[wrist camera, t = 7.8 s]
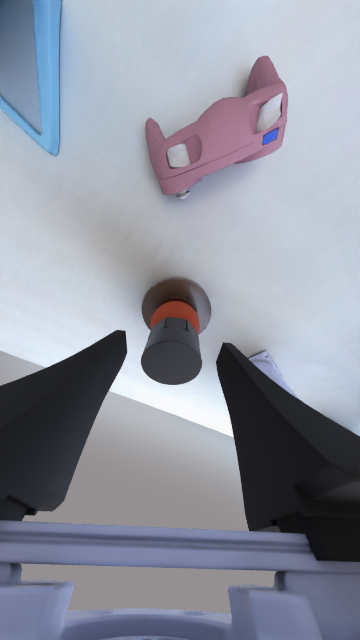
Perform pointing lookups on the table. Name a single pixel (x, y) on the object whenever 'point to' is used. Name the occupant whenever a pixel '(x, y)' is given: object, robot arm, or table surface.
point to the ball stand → (177, 299)
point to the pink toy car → (222, 133)
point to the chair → (44, 76)
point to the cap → (172, 352)
